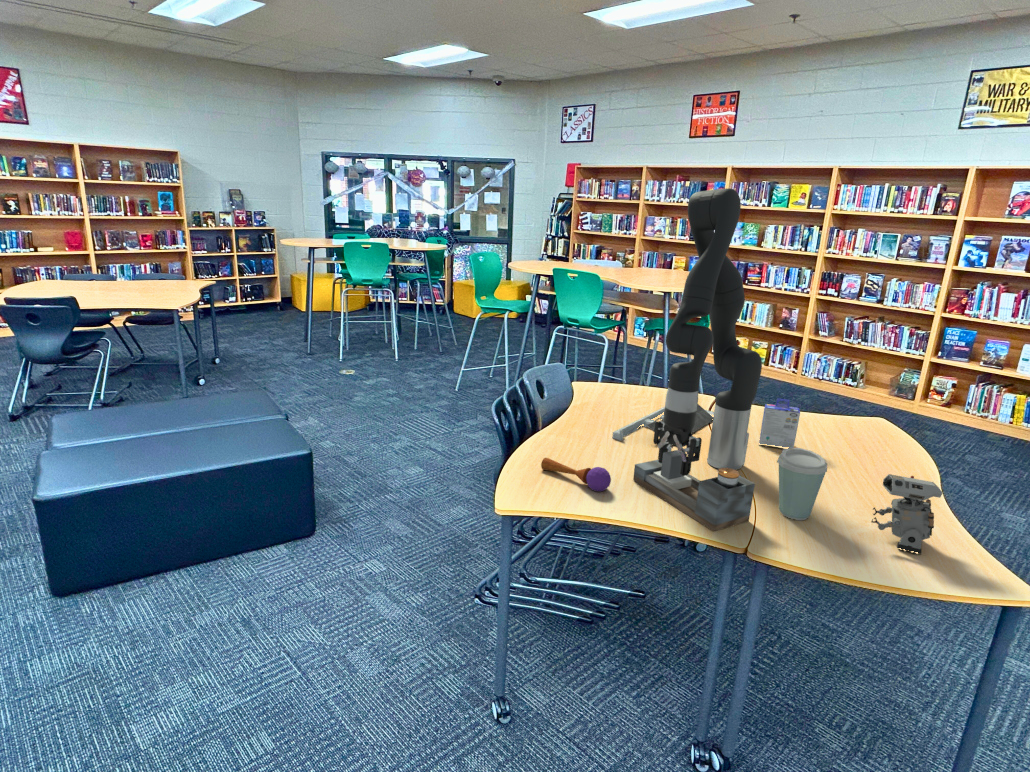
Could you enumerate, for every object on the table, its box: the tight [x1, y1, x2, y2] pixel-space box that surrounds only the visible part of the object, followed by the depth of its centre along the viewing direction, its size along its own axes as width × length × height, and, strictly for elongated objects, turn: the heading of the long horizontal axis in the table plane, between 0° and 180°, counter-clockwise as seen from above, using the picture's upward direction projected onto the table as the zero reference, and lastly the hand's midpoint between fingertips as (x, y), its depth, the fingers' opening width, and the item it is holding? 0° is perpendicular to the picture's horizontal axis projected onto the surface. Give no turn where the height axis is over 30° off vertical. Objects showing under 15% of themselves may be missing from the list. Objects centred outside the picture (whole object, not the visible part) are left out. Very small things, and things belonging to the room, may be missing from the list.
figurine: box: [871, 473, 943, 554], centre depth 132 cm, size 9×12×15 cm
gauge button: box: [717, 468, 740, 489], centre depth 137 cm, size 4×4×4 cm
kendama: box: [540, 457, 612, 492], centre depth 157 cm, size 6×6×20 cm
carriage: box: [653, 449, 692, 489], centre depth 153 cm, size 6×7×8 cm
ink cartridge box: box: [758, 397, 801, 448], centre depth 185 cm, size 10×6×14 cm, turn 70°
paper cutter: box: [612, 403, 714, 452], centre depth 198 cm, size 18×45×6 cm, turn 141°
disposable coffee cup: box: [776, 447, 828, 521], centre depth 142 cm, size 11×11×15 cm
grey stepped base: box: [632, 459, 756, 532], centre depth 148 cm, size 11×28×10 cm, turn 28°
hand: (673, 468), depth 153 cm, fingers open, 7 cm apart
